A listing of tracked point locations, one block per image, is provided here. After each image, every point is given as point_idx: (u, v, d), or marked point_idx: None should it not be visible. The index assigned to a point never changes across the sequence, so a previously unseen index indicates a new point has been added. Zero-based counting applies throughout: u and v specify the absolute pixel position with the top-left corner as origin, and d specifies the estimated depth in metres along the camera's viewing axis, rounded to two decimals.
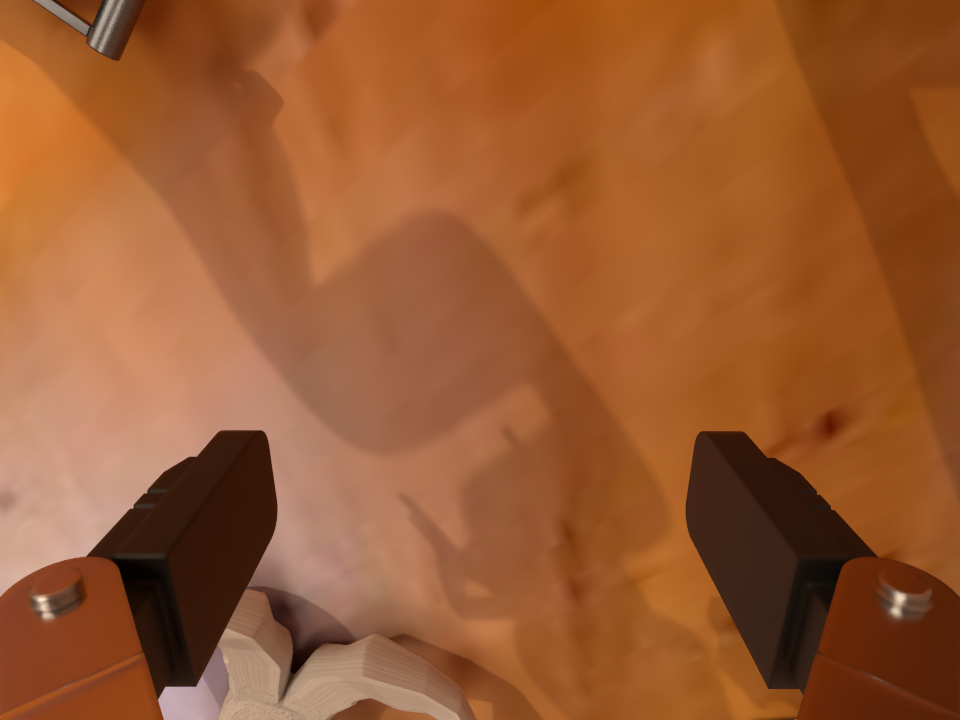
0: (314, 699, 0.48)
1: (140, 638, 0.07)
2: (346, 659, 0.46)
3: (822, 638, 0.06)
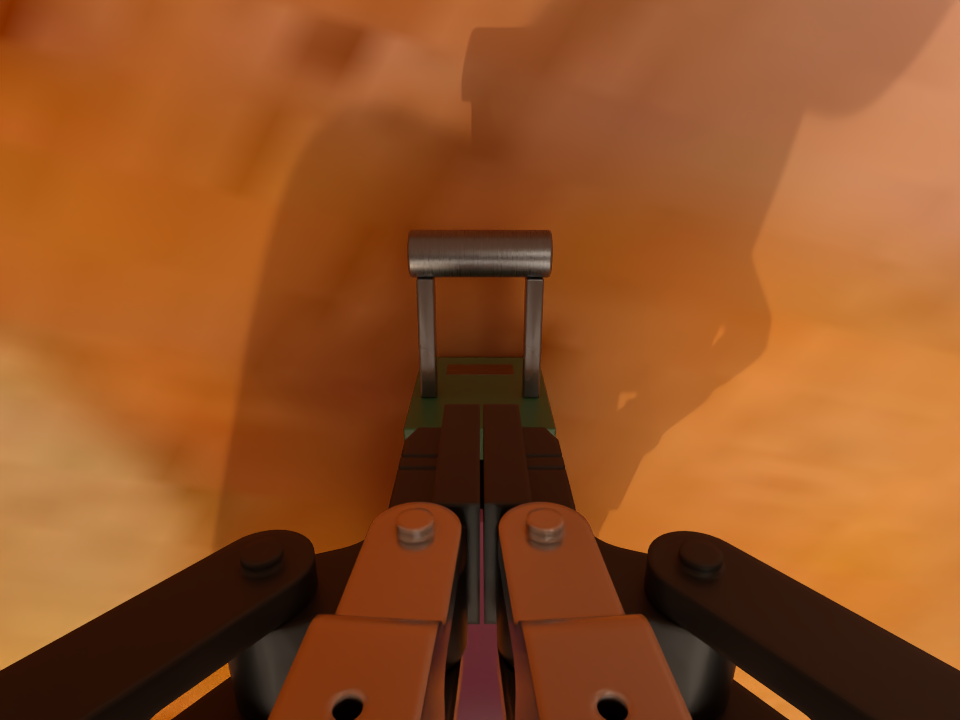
0: None
1: (467, 574, 0.08)
2: None
3: (512, 602, 0.07)
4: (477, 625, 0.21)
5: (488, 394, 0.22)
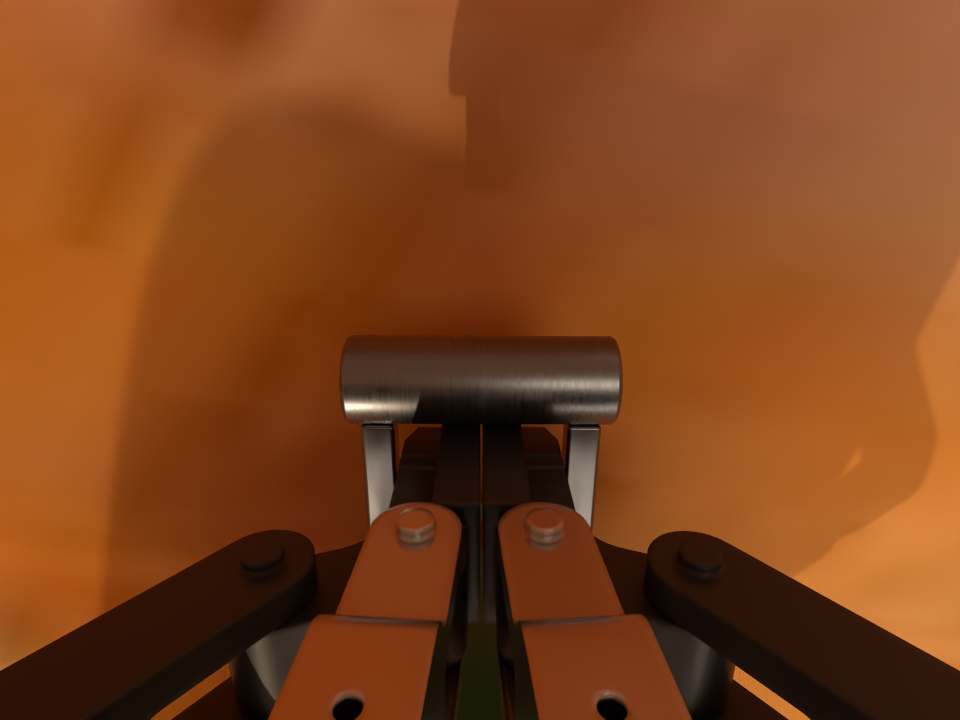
0: None
1: (467, 574, 0.08)
2: None
3: (511, 602, 0.07)
4: None
5: None
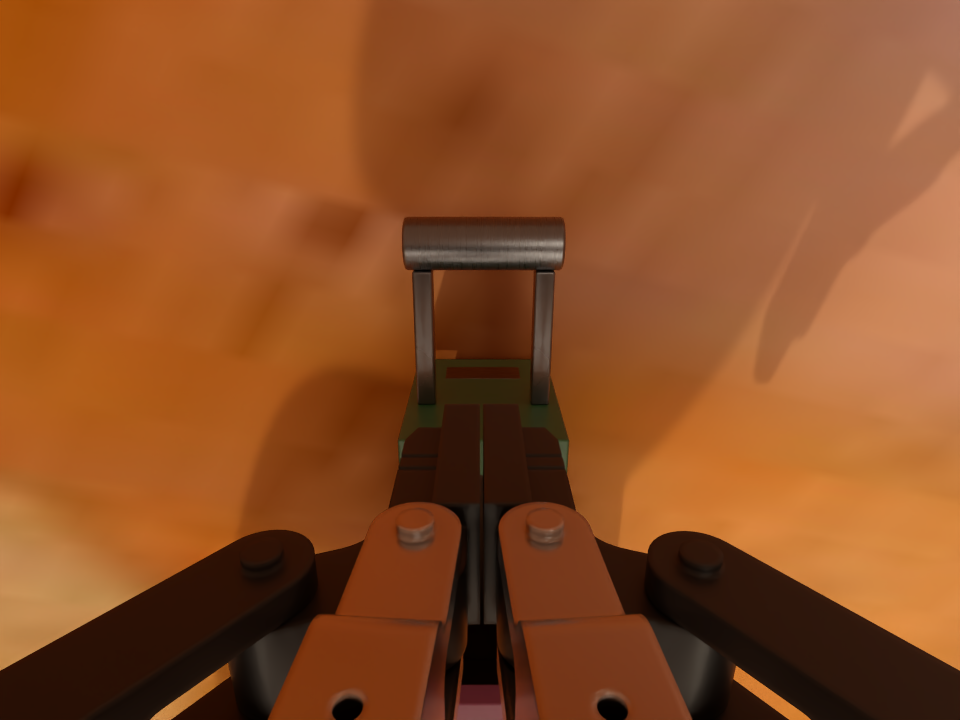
0: None
1: (467, 574, 0.08)
2: None
3: (512, 602, 0.07)
4: None
5: (492, 401, 0.20)
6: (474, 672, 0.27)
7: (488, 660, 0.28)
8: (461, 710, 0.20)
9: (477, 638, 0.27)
